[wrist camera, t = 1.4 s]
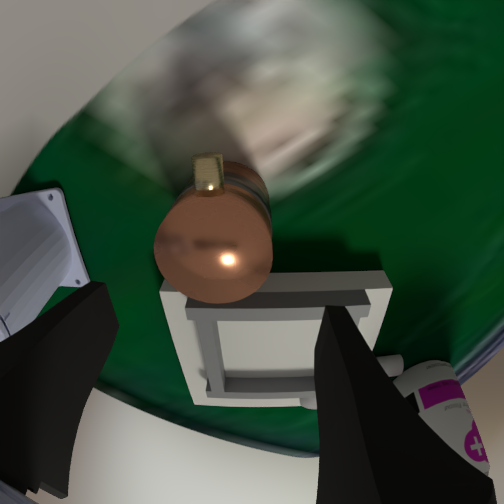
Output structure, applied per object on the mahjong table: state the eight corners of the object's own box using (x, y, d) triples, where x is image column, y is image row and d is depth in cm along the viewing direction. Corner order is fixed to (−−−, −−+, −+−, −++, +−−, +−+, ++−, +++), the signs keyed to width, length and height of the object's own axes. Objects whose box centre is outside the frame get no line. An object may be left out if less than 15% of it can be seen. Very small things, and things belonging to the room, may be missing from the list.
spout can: (189, 241, 19) (165, 303, 14) (176, 138, 16) (137, 167, 11) (270, 240, 19) (273, 304, 14) (269, 133, 15) (274, 160, 10)
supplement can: (441, 344, 24) (493, 477, 11) (455, 374, 27) (493, 480, 15) (372, 384, 27) (400, 517, 14) (397, 406, 30) (422, 513, 17)
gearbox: (197, 387, 28) (192, 417, 25) (167, 273, 20) (152, 306, 17) (384, 380, 27) (392, 408, 24) (429, 268, 20) (450, 298, 17)
